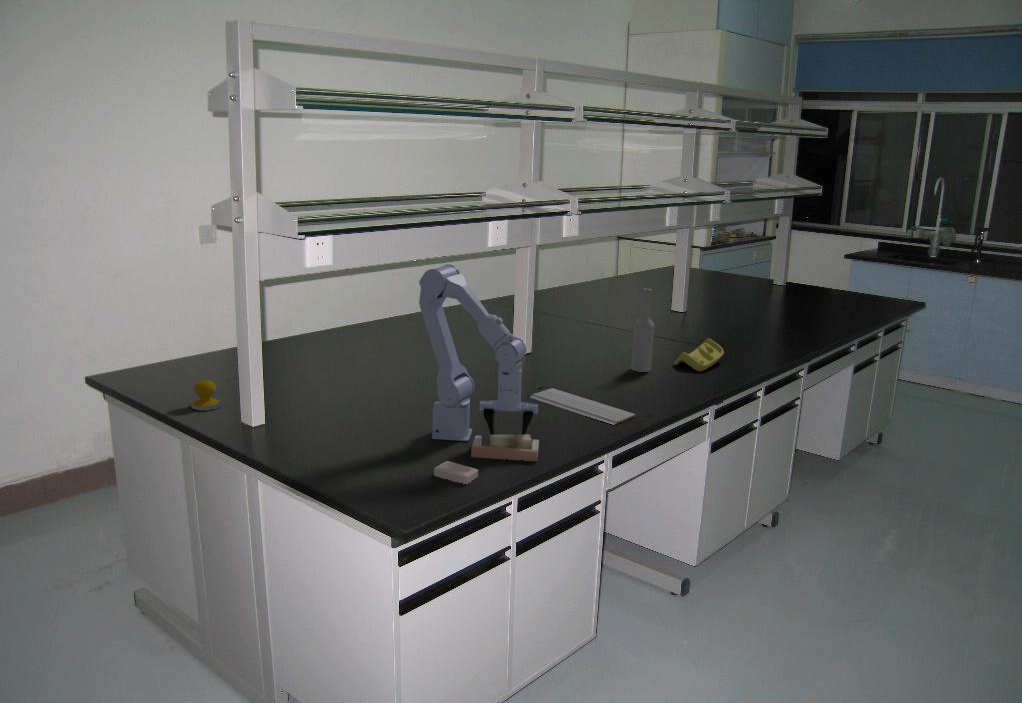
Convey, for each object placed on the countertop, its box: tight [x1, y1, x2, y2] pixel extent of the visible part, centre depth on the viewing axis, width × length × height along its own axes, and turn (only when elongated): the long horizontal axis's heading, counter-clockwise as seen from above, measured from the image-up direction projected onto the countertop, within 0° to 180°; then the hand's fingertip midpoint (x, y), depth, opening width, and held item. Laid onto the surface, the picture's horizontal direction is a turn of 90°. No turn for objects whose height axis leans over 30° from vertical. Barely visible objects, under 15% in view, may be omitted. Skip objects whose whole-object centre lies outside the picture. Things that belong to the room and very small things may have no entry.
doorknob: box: [192, 379, 220, 407], centre depth 221 cm, size 8×8×8 cm
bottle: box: [630, 288, 655, 373], centre depth 269 cm, size 7×7×28 cm
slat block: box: [489, 433, 533, 449], centre depth 198 cm, size 10×4×4 cm, turn 98°
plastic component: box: [672, 338, 725, 372], centre depth 282 cm, size 20×7×10 cm
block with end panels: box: [470, 435, 540, 462], centre depth 198 cm, size 16×8×2 cm, turn 85°
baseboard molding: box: [527, 386, 636, 426], centre depth 232 cm, size 31×3×12 cm
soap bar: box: [433, 460, 479, 485], centre depth 183 cm, size 5×9×2 cm, turn 60°
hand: (507, 438), depth 202 cm, fingers open, 7 cm apart
